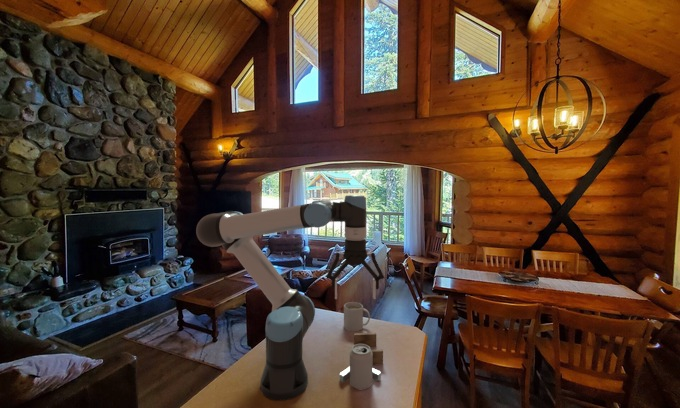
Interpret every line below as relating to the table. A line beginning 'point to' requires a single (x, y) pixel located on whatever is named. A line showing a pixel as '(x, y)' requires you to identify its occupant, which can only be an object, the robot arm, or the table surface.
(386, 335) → the table surface
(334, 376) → the table surface
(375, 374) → the v block
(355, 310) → the mug
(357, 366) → the can
